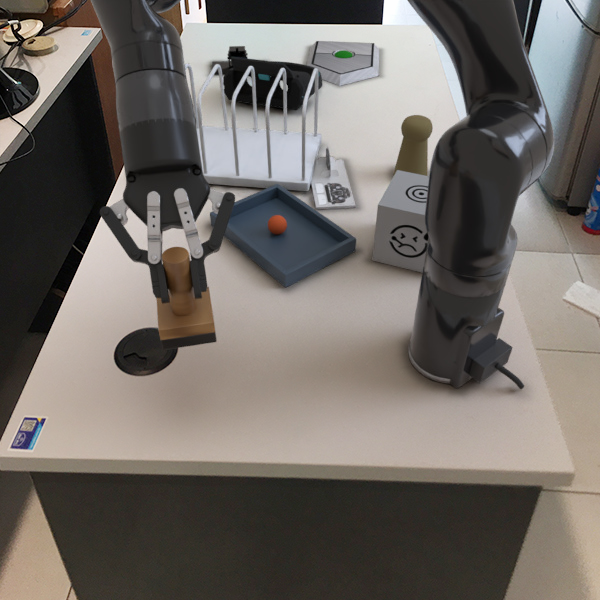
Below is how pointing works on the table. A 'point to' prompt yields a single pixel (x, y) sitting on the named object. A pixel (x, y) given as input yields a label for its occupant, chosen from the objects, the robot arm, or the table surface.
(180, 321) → the wooden stamp
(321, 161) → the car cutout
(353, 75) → the security device
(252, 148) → the file sorter
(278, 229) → the crumb ball
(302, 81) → the virtual reality headset
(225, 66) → the black block
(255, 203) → the tray
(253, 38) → the table surface
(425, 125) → the olive game pawn
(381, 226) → the icon cube
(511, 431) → the table surface
